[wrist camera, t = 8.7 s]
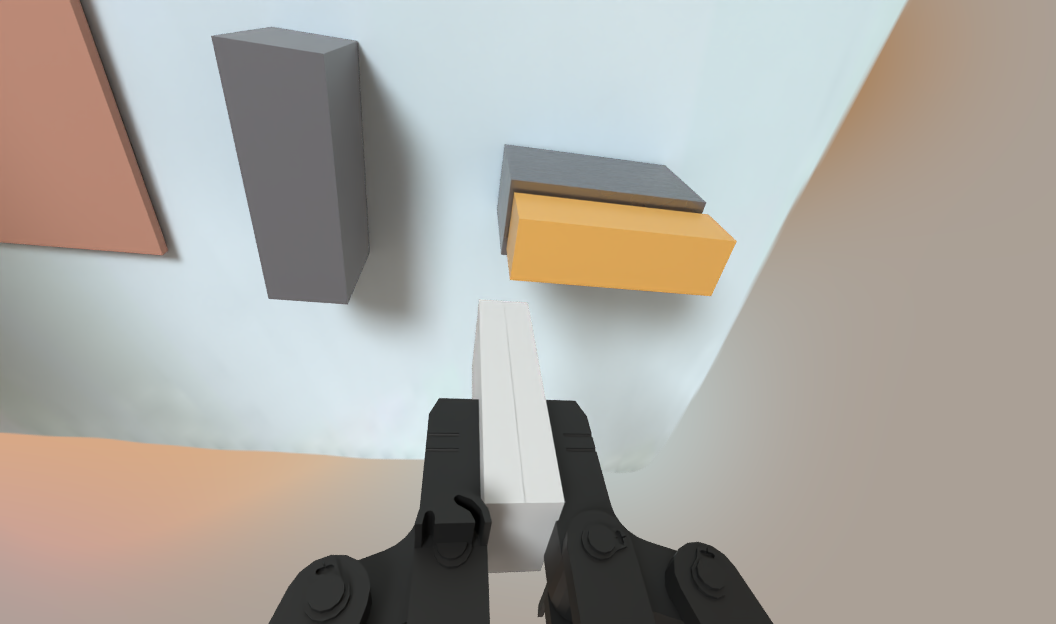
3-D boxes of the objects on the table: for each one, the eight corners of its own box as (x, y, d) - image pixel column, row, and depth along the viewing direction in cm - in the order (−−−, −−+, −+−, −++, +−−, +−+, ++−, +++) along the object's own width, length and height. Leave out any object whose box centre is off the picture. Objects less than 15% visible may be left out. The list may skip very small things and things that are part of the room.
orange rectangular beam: (506, 248, 22) (509, 279, 20) (514, 192, 21) (519, 218, 18) (687, 265, 24) (711, 295, 22) (708, 214, 22) (736, 241, 20)
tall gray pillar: (304, 246, 28) (268, 298, 23) (271, 26, 21) (211, 35, 17) (369, 252, 29) (347, 304, 24) (357, 41, 22) (323, 53, 17)
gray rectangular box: (497, 209, 28) (501, 254, 23) (504, 144, 25) (510, 179, 21) (645, 225, 29) (679, 270, 25) (665, 165, 27) (706, 202, 22)
